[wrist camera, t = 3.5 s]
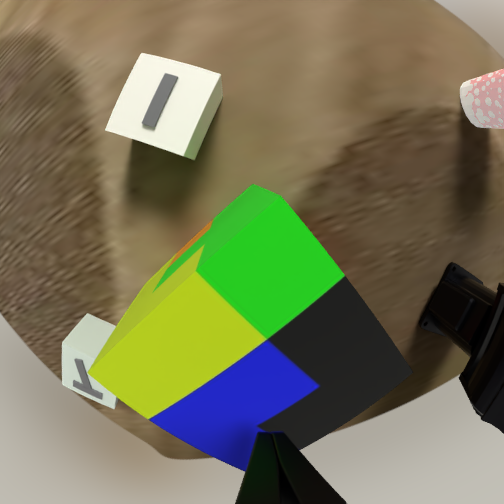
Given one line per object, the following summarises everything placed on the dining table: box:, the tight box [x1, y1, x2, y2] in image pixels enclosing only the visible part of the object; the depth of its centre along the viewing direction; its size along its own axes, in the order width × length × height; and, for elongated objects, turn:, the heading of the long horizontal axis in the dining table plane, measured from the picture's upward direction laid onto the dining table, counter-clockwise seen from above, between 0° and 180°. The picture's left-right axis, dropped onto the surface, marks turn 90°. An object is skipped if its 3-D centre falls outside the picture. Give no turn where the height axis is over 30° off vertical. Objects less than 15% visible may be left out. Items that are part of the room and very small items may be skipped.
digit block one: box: [105, 53, 223, 160], centre depth 14 cm, size 4×4×5 cm
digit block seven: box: [62, 313, 119, 409], centre depth 18 cm, size 4×4×5 cm
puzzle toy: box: [87, 184, 413, 471], centre depth 15 cm, size 10×10×10 cm
